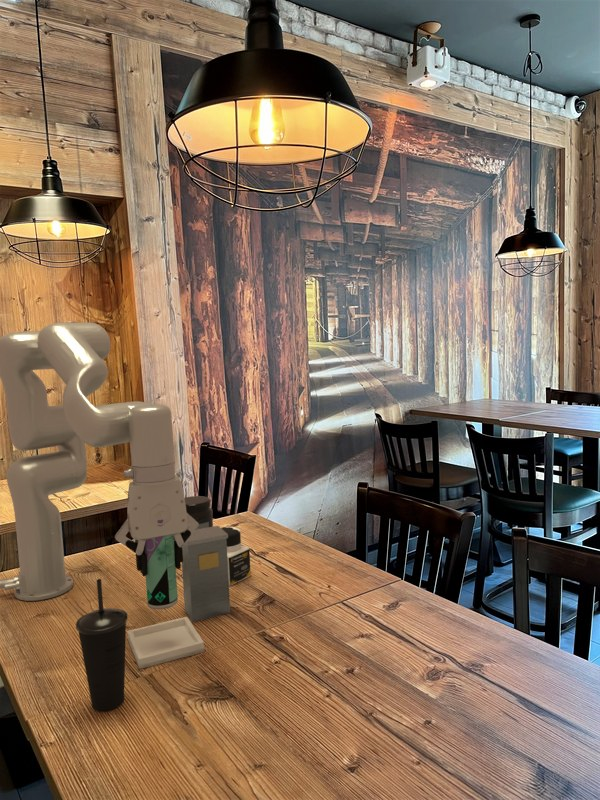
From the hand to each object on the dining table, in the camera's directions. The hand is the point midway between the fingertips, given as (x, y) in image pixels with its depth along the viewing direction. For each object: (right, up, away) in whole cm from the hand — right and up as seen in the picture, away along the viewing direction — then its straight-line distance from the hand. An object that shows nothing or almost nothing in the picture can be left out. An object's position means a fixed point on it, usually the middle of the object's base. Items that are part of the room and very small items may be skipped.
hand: (160, 569), depth 109 cm
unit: (+6, -13, +15) cm, 21 cm away
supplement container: (-4, -9, +59) cm, 60 cm away
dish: (0, -15, +2) cm, 15 cm away
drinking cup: (-5, -17, -15) cm, 23 cm away
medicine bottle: (+9, -11, +32) cm, 35 cm away
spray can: (0, -7, +1) cm, 7 cm away
